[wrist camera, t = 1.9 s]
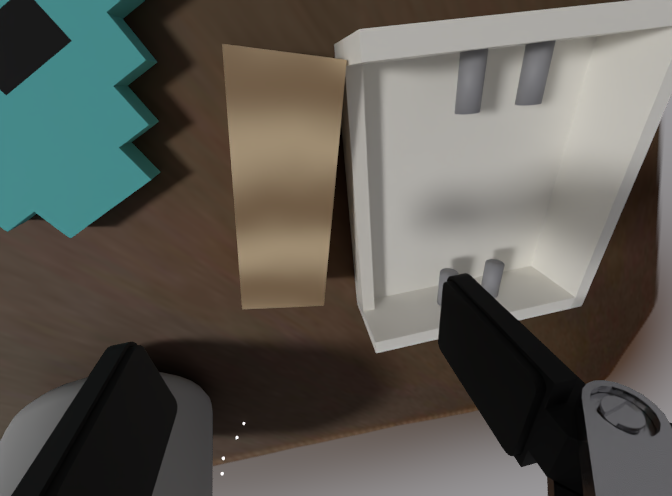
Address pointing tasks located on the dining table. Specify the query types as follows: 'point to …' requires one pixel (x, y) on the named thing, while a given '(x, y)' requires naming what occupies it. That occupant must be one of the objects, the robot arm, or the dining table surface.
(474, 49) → the carcass
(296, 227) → the shelf board
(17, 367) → the dining table surface
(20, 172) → the alien figure
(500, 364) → the robot arm
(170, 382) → the jar
